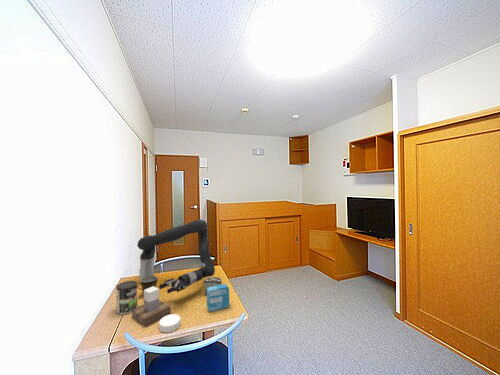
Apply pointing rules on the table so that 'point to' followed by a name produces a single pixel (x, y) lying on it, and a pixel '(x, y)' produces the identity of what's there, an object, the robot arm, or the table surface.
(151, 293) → the block
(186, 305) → the table surface
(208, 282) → the food container
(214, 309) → the data package
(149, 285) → the ceramic cup
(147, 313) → the walnut stand
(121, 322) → the table surface
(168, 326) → the coaster
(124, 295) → the coffee can
